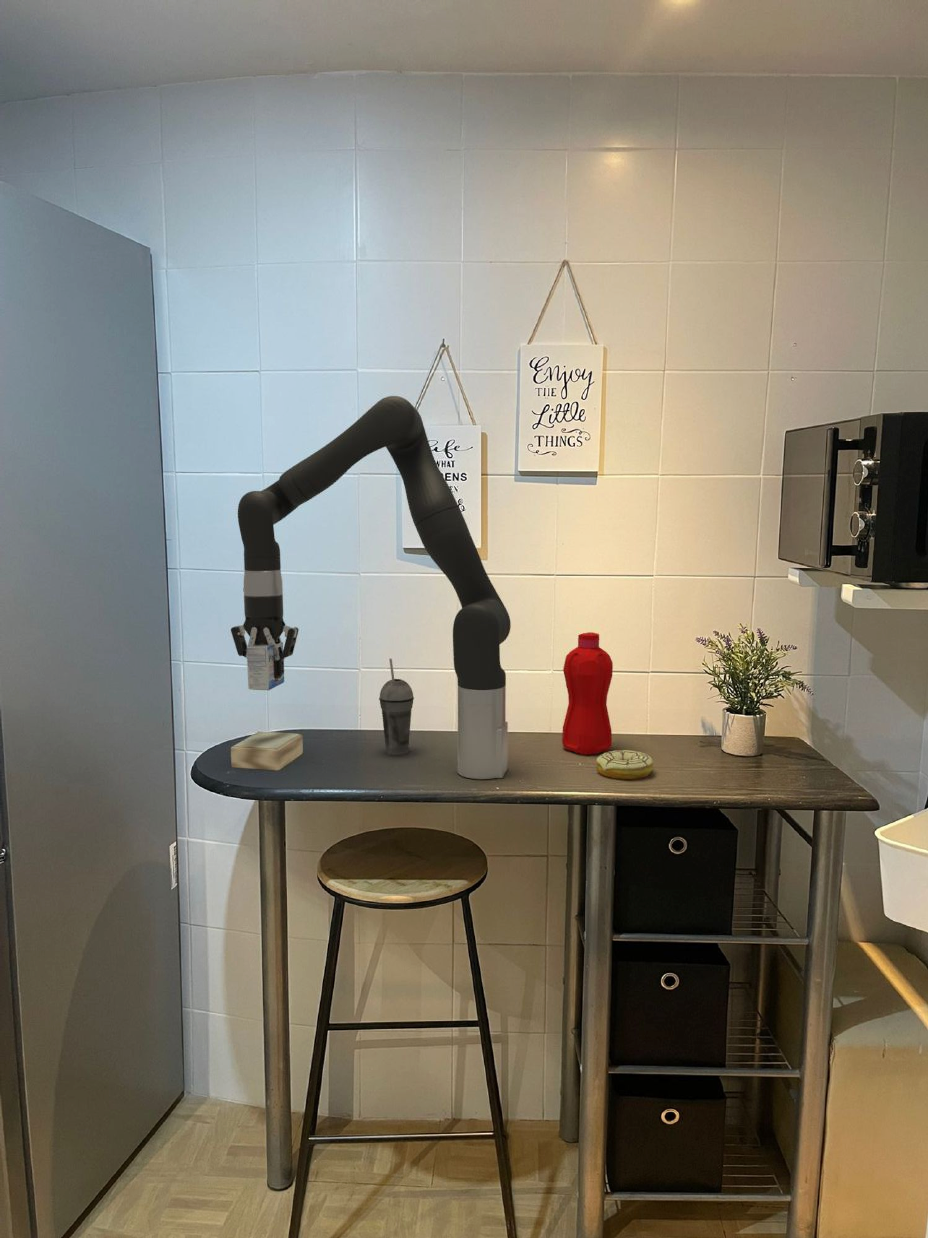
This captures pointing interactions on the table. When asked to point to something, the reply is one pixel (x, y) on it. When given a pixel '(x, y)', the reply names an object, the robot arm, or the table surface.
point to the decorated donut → (624, 764)
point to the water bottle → (587, 697)
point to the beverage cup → (396, 714)
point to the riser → (267, 750)
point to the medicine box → (261, 667)
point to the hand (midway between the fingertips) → (266, 677)
